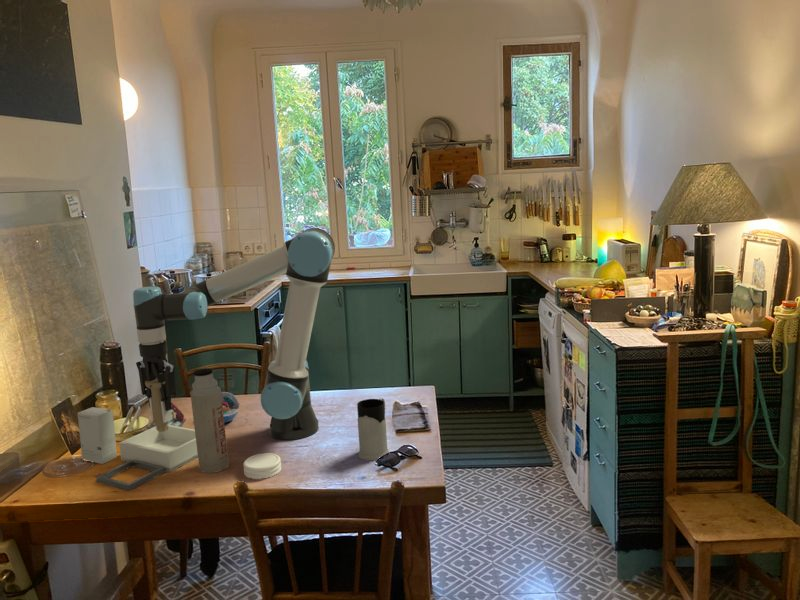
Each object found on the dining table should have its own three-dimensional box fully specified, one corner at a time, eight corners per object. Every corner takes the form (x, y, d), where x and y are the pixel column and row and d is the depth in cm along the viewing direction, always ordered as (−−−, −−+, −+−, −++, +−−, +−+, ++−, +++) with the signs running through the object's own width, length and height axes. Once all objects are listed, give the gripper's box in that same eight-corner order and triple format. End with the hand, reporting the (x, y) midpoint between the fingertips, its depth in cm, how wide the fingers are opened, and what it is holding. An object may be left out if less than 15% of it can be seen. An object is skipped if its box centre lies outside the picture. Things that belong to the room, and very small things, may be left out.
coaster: (265, 461, 192) (264, 449, 192) (289, 469, 186) (288, 457, 185) (236, 474, 185) (235, 462, 184) (260, 483, 178) (259, 471, 178)
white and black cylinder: (353, 458, 190) (349, 407, 187) (372, 439, 203) (369, 391, 200) (382, 461, 187) (379, 409, 184) (400, 441, 200) (397, 392, 197)
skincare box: (82, 461, 198) (74, 413, 196) (98, 453, 204) (91, 406, 201) (104, 464, 195) (97, 415, 193) (119, 456, 201) (113, 408, 198)
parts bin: (212, 450, 202) (210, 432, 201) (170, 472, 188) (168, 453, 187) (164, 440, 211) (162, 423, 210) (121, 460, 198) (118, 442, 197)
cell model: (204, 428, 219) (201, 400, 217) (216, 415, 231) (212, 388, 229) (235, 427, 218) (232, 399, 217) (245, 414, 230) (242, 387, 228)
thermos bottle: (234, 463, 191) (224, 367, 186) (213, 475, 185) (202, 376, 179) (214, 458, 195) (204, 364, 190) (193, 469, 189) (181, 372, 183)
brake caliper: (195, 415, 225) (180, 395, 216) (184, 445, 218) (168, 425, 209) (163, 414, 227) (148, 394, 218) (152, 444, 220) (135, 424, 211)
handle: (159, 426, 201) (153, 377, 198) (177, 428, 199) (170, 378, 196) (148, 432, 197) (141, 382, 194) (165, 434, 194) (159, 384, 192)
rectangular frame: (165, 472, 188) (164, 466, 188) (129, 490, 178) (128, 485, 178) (133, 464, 194) (132, 459, 194) (96, 482, 184) (96, 477, 184)
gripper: (184, 340, 192) (192, 419, 197) (142, 335, 200) (151, 411, 205) (163, 347, 186) (173, 428, 190) (121, 342, 194) (131, 419, 198)
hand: (161, 419), depth 197 cm, fingers closed on handle, 4 cm apart
